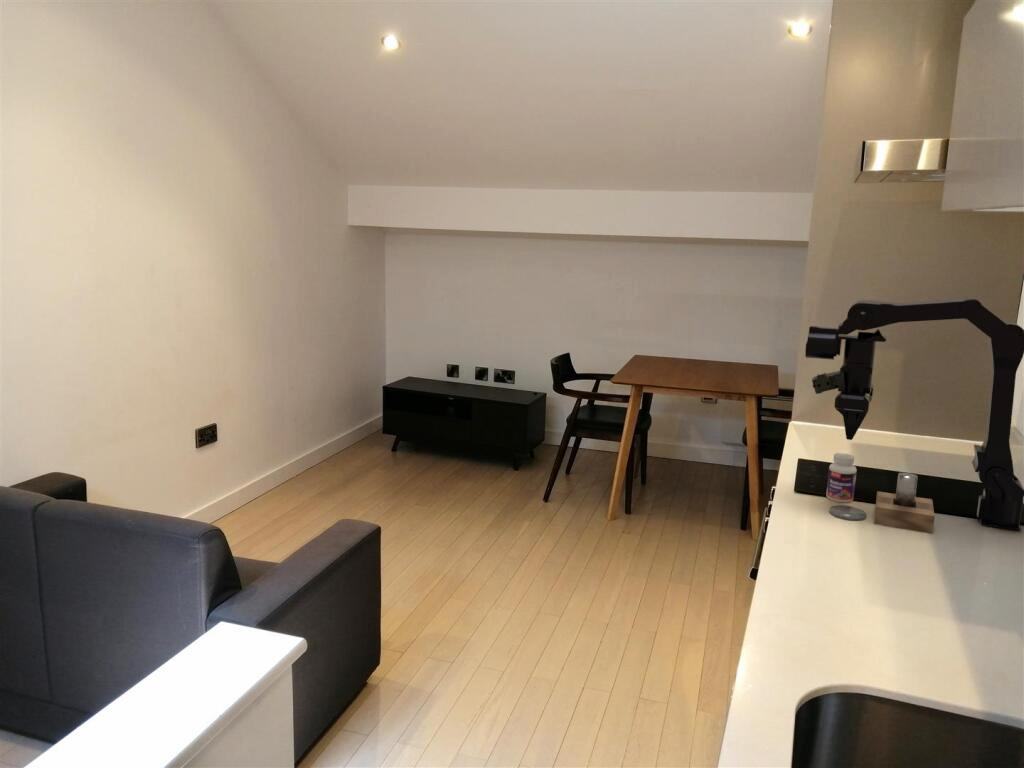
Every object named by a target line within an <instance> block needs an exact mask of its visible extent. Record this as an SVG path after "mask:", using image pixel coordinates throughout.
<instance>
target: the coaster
mask: <svg viewBox="0 0 1024 768" xmlns="http://www.w3.org/2000/svg"><path fill="white" fill-rule="evenodd" d="M828 513H829V514H830V515H831V516H833V517H835V518H837V519H840V520H845V521H854V522H856V521H857V522H858V521H864V520H865V519H867V512H866V511H865V510H863V509H862V508H859V507H855V506H853V505H844V504H834V505H832V506H830V507H829V508H828Z"/></svg>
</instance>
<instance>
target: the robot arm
mask: <svg viewBox="0 0 1024 768" xmlns="http://www.w3.org/2000/svg"><path fill="white" fill-rule="evenodd" d="M846 315H847V317H846V318H845V319H844V320H843V322H840V323H839V325H838V327H826V326H825V327H823V326H817V325H810V326H809V327H808V334H807V340H806V343H805V355H804V356H805V358H806V359H807V358H808V359H820V360H832V361H834V360H835V357H837V356H841V353H842V347H843V346H842V345H843V344H842V343H843V340H844V349H843V361H842V364H841V367H840V368H839V370H837V371H832V372H828V373H826V372H824V373H819V374H817V375H815V376H813V377H812V379H811V382H812V388H814V392H815V395H818V394H822V393H823V392H828V391H832V390H833V391H834V390H837V392H839V393H838V394H837V395H836V396H835V399H834V409H835V410H836V412H838V413H840V414H841V415H842V417H843V425H844V431H845V439H846V440H848V441H852V440H853V439H854V437H855V436H856V434H857V432H858V430H859V428H860V427H861V425H862V423H863V422H864V419H865V418H866V416H867V414H869V413H868V412H869V409H870V403H871V402H872V399H873V395H874V390H875V388H874V387H875V385H874V384H873V383H872V380H873V373H874V363H875V354H876V344H877V343H876V342H878V343H880V342H881V343H885V342H886V341H887V337H886V336H885V335H884V334H883V333H882V331H881V329H879V328H882V327H885V326H889V325H890V326H891V325H893V324H897V323H913V322H925V321H926V322H928V321H945V320H961V319H963V320H967V321H969V323H971V324H972V325H973V326H975V327H976V328H977V329H978V330H980V332H981V333H984V334H985V335H986V337H987V338H986V339H987V346H988V354H989V358H990V366H991V372H990V373H991V375H990V387H989V398H988V407H987V408H988V409H987V420H986V431H985V436H984V440H983V441H982V444H981V445H979V444H973V448H974V449H973V450H974V456H973V459H972V461H971V465H972V467H973V470H974V472H975V473H977V476H978V479H979V480H980V482H981V483H982V484H983V485H984V486H985V487H987V488H983V492H982V495H979V496H978V503H977V504H978V505H977V510H976V517H977V519H979V521H980V524H981V525H982V526H985V527H986V526H988V527H992V528H993V527H994V528H1000V529H1005V530H1012V531H1018V532H1019V531H1021V529H1022V527H1021V525H1020V522H1021V516H1022V509H1023V502H1024V486H1023V485H1022V482H1021V481H1020V479H1019V478H1018V477H1017V476H1016V475H1015V472H1014V464H1013V463H1014V462H1013V456H1012V450H1011V444H1010V439H1011V429H1012V421H1013V420H1012V417H1013V409H1014V399H1015V398H1014V397H1015V388H1016V379H1017V378H1016V375H1017V371H1018V368H1019V367H1020V364H1021V363H1022V360H1023V358H1024V329H1023V328H1022V327H1021V326H1020V325H1019V324H1017V323H1015V322H1013V321H1010V320H1001V318H999V317H998V316H997V315H995V314H994V313H992V311H990V310H989V309H988V308H987V307H985V306H984V305H983V304H982V303H981V302H980V301H979V300H978V299H977V298H974V297H972V296H971V297H970V296H969V297H963V298H958V299H957V298H955V299H943V300H929V301H928V300H926V301H925V300H924V301H911V302H890V301H889V302H888V301H883V300H882V301H881V300H873V299H871V300H870V299H862V300H857V301H855V302H854V303H853V304H852V305H851V306H850V307H849V309H848V312H847V314H846ZM873 329H876V330H875V331H873V332H871V331H867V330H873ZM855 331H858V333H857V335H849V334H851V333H853V332H855Z"/></svg>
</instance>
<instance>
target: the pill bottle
mask: <svg viewBox="0 0 1024 768" xmlns="http://www.w3.org/2000/svg"><path fill="white" fill-rule="evenodd" d="M854 464H855V456H854V455H852V454H849V453H844V452H836V453H834V454H833V462H832V463H831V464H830V465H829V466H828V467H829V468H828V476H827V485H826V498H828V500H829V501H833V502H837V503H852V502H853V500H854V497H855V490H856V489H855V487H856V481H857V472H858V471H857V468H856V466H855V465H854Z"/></svg>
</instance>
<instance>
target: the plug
mask: <svg viewBox="0 0 1024 768" xmlns="http://www.w3.org/2000/svg"><path fill="white" fill-rule="evenodd" d="M918 478H919V476H918V475H916V474H915V473H911V472H898V475H897V480H896V481H897V483H896V491H895V494H896V498H895V504H897V505H899V506H906V507H913V506H914V503H915V497H916V493H917V485H918Z"/></svg>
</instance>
